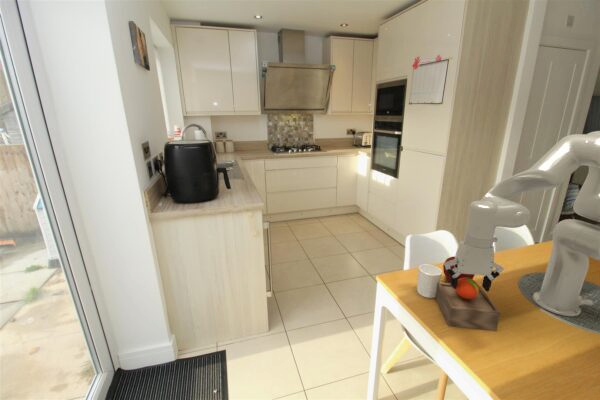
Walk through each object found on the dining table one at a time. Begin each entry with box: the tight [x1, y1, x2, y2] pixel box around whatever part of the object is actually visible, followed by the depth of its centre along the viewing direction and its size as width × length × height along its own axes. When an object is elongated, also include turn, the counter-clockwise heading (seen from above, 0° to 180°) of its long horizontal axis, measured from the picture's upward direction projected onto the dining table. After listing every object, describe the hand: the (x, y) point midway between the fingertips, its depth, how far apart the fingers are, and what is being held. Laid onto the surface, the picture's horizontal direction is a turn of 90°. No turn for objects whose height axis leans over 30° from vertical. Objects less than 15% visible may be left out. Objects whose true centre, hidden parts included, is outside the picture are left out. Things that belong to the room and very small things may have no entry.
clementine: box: [455, 277, 479, 299], centre depth 92 cm, size 8×7×7 cm
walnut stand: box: [434, 282, 501, 332], centre depth 93 cm, size 14×14×7 cm
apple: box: [442, 256, 475, 283], centre depth 109 cm, size 11×11×12 cm
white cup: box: [416, 263, 443, 299], centre depth 104 cm, size 8×8×10 cm
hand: (469, 287), depth 91 cm, fingers open, 9 cm apart
